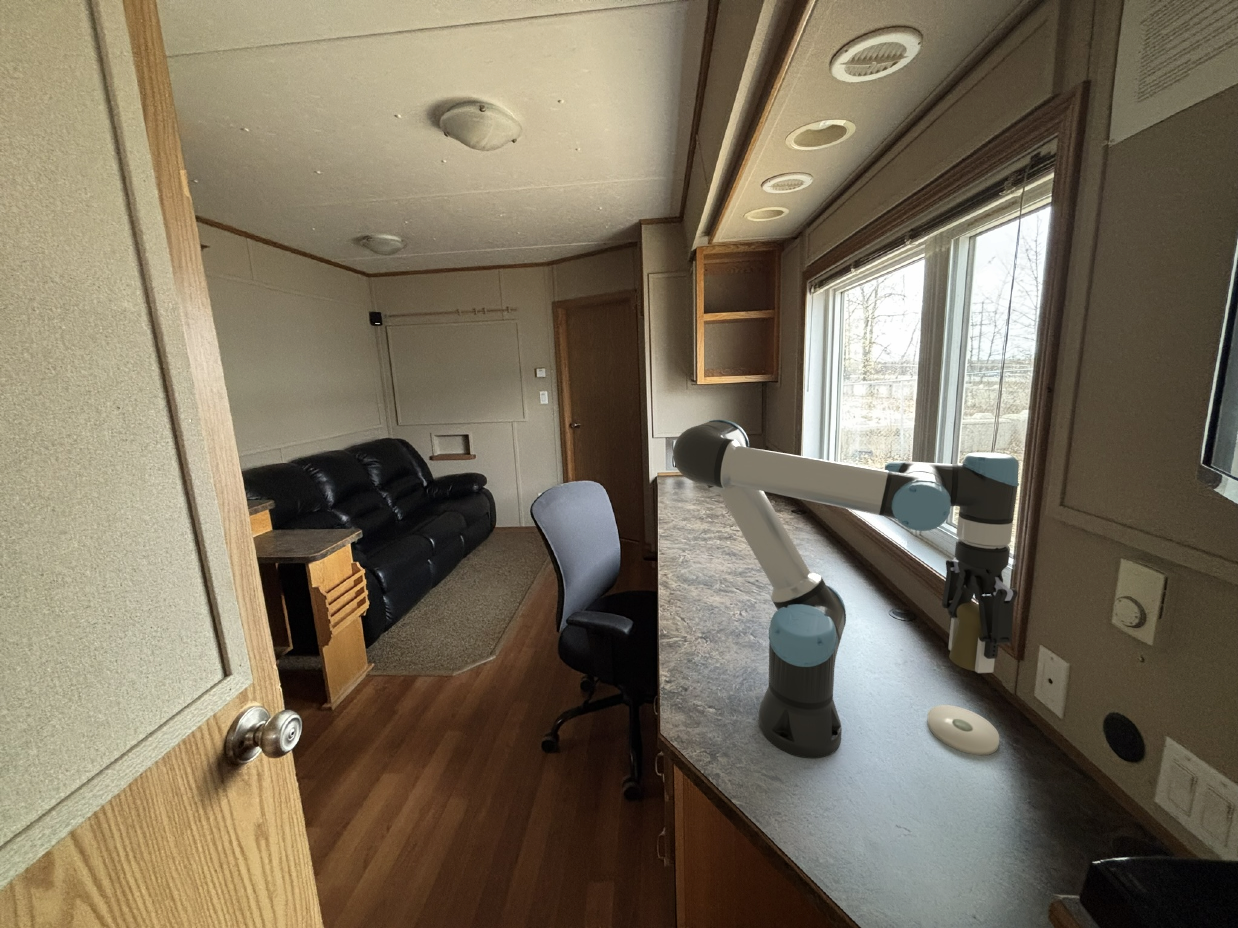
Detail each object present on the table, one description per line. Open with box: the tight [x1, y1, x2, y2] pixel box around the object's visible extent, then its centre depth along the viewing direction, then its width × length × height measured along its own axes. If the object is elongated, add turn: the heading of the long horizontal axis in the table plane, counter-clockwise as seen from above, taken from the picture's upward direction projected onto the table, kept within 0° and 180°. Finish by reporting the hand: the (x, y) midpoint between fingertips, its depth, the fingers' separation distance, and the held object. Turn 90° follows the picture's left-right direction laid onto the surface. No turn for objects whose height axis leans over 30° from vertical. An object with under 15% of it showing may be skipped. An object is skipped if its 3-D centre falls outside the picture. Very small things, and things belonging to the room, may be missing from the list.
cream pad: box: [926, 704, 1000, 756], centre depth 89 cm, size 11×11×2 cm
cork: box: [948, 602, 983, 672], centre depth 85 cm, size 6×6×11 cm
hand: (969, 659), depth 86 cm, fingers closed on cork, 6 cm apart
